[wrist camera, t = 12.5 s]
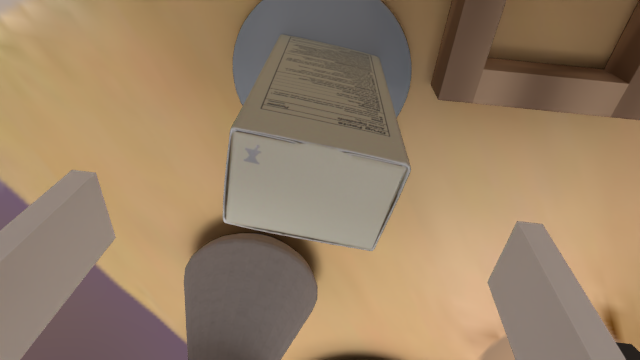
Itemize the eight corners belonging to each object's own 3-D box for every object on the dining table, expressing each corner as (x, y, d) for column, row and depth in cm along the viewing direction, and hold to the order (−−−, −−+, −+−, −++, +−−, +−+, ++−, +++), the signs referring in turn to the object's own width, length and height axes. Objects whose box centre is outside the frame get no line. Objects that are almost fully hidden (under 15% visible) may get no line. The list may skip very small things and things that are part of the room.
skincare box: (269, 99, 24) (211, 224, 14) (280, 30, 22) (218, 123, 12) (365, 121, 25) (375, 259, 15) (386, 56, 22) (415, 167, 12)
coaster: (428, -14, 21) (431, -11, 20) (391, 155, 27) (392, 163, 26) (232, -33, 21) (227, -31, 20) (240, 140, 27) (236, 146, 27)
